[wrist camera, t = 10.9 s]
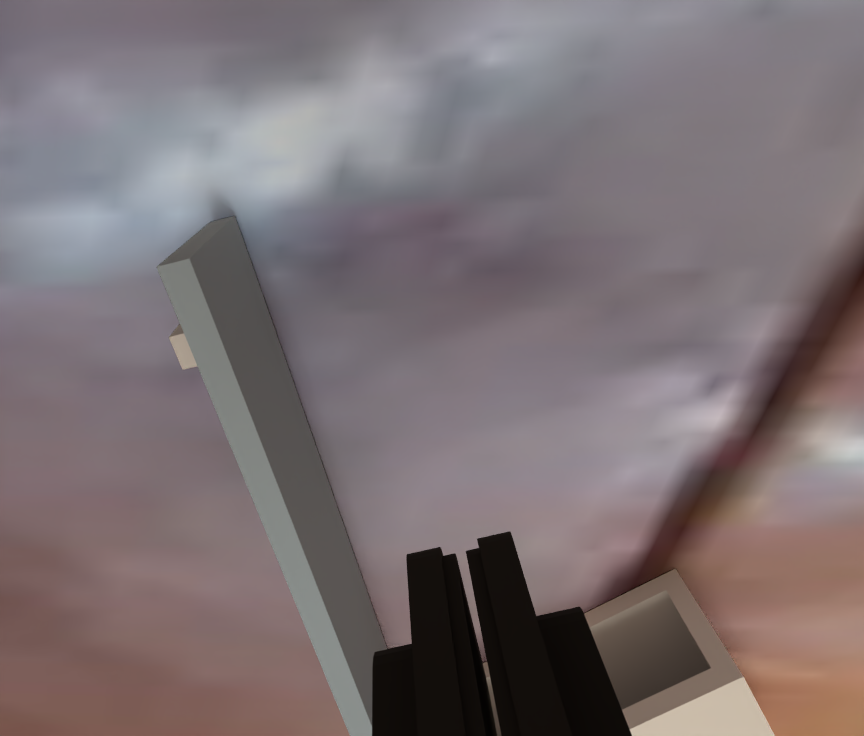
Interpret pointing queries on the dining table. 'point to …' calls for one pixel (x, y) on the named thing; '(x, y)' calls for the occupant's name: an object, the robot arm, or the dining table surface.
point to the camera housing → (669, 665)
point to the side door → (275, 454)
